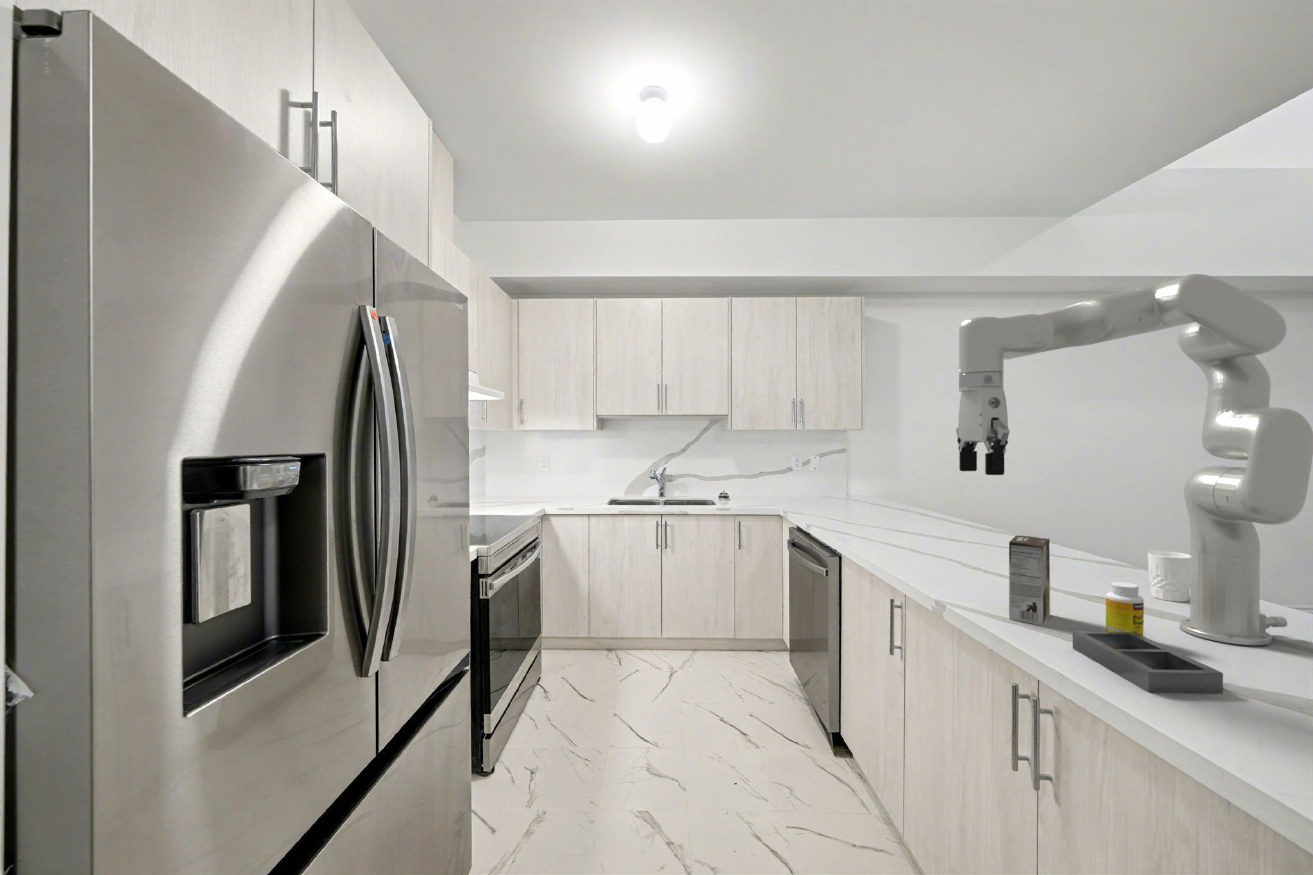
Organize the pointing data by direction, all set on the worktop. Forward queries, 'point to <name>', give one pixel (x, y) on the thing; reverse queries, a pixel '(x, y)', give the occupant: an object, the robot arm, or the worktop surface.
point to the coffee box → (1029, 579)
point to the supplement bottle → (1124, 609)
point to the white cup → (1169, 575)
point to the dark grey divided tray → (1148, 663)
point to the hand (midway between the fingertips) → (980, 472)
